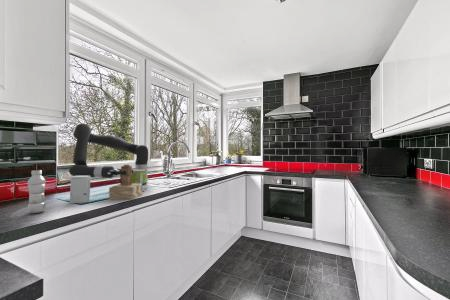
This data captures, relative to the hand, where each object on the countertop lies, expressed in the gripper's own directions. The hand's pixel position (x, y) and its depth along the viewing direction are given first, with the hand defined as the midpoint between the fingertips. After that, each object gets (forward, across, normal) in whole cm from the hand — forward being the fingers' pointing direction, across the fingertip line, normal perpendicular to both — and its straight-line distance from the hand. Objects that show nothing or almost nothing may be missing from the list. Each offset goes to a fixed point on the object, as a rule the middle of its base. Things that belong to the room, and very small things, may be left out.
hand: (129, 172), depth 128 cm
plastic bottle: (-28, -33, +16) cm, 46 cm away
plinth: (-2, 0, +16) cm, 16 cm away
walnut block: (-2, 0, +8) cm, 8 cm away
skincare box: (-22, -13, +16) cm, 30 cm away
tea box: (-7, +20, +16) cm, 26 cm away
